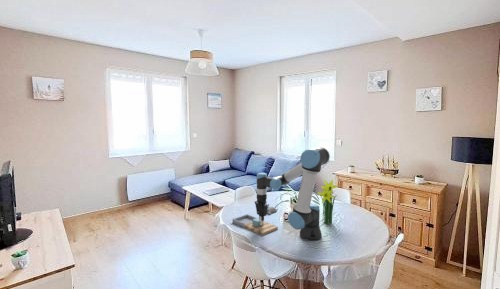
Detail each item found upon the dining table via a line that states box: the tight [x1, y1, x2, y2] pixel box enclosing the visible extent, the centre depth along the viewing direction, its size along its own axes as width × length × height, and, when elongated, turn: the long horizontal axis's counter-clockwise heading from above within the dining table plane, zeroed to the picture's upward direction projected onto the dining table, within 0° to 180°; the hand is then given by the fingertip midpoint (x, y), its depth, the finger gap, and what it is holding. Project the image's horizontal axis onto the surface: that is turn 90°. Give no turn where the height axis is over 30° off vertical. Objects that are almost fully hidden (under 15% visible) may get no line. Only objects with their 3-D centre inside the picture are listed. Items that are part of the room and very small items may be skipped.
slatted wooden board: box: [243, 221, 279, 236], centre depth 201 cm, size 20×16×2 cm
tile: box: [252, 217, 265, 227], centre depth 203 cm, size 6×6×4 cm
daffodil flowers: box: [316, 178, 339, 226], centre depth 207 cm, size 17×15×35 cm
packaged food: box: [267, 206, 279, 215], centre depth 234 cm, size 9×12×5 cm
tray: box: [232, 214, 257, 228], centre depth 213 cm, size 13×16×3 cm
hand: (261, 224), depth 200 cm, fingers closed
